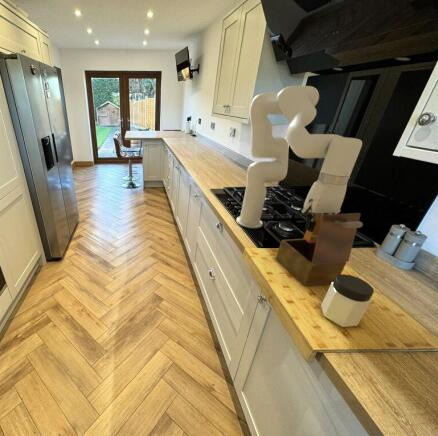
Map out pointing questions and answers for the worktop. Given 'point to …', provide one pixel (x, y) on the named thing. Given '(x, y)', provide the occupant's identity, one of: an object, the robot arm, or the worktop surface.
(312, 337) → the worktop surface
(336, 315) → the jar
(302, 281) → the chest
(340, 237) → the lid
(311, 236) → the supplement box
